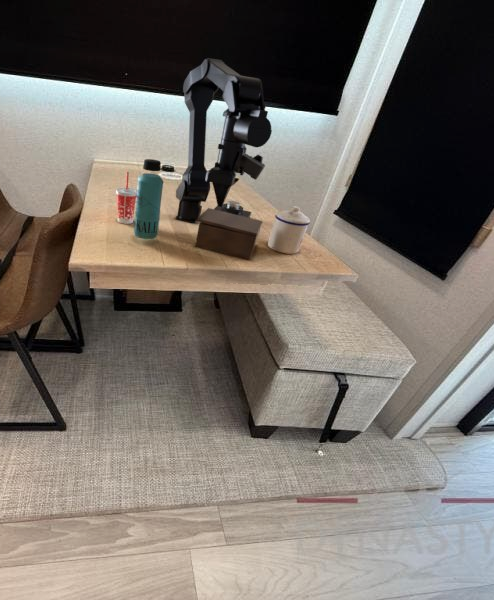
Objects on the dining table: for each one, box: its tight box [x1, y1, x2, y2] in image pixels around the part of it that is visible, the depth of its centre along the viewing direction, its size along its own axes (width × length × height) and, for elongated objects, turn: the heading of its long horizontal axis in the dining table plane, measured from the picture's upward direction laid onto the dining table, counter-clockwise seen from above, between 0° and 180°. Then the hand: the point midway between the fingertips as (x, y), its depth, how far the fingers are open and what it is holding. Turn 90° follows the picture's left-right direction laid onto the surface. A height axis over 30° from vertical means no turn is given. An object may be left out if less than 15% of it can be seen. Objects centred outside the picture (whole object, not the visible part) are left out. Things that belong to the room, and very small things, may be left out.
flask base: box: [213, 202, 252, 218], centre depth 111 cm, size 12×10×4 cm
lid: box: [196, 207, 263, 236], centre depth 86 cm, size 15×12×1 cm
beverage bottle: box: [133, 158, 164, 240], centre depth 81 cm, size 6×7×20 cm
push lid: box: [227, 200, 241, 209], centre depth 109 cm, size 4×4×2 cm
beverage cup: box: [115, 171, 137, 225], centre depth 94 cm, size 6×6×14 cm
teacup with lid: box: [267, 205, 311, 255], centre depth 91 cm, size 12×9×12 cm
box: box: [195, 222, 263, 261], centre depth 88 cm, size 15×12×6 cm
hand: (220, 206), depth 85 cm, fingers closed
